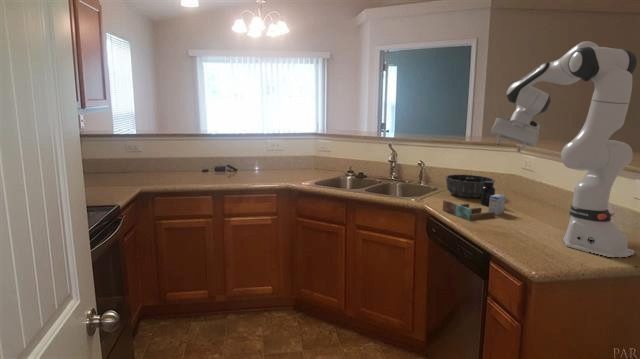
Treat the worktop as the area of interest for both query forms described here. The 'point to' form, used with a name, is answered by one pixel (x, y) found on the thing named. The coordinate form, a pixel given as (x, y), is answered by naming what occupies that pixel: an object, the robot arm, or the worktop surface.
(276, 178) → the worktop surface
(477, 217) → the slot comb
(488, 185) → the supplement bottle
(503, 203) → the medicine box
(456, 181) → the bundt pan
